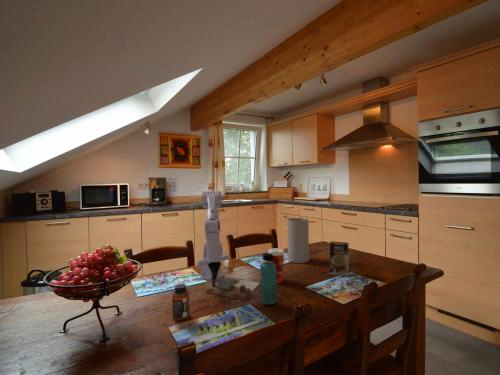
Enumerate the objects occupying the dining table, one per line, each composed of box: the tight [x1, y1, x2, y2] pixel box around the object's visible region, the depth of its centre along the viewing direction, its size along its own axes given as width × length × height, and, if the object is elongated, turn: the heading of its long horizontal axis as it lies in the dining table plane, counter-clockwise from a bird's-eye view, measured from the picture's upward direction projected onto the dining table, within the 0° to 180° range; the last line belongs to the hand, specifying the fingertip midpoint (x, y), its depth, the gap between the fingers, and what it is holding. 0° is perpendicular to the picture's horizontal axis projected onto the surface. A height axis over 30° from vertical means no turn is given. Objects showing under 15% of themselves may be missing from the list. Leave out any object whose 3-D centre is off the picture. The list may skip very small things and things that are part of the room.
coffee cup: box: [267, 247, 285, 284], centre depth 126 cm, size 8×8×15 cm
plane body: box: [206, 279, 251, 301], centre depth 113 cm, size 18×7×7 cm, turn 65°
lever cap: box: [217, 276, 236, 291], centre depth 113 cm, size 6×4×4 cm
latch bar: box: [207, 273, 213, 283], centre depth 113 cm, size 9×2×1 cm, turn 176°
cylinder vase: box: [286, 217, 310, 264], centre depth 157 cm, size 12×12×25 cm
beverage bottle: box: [259, 252, 278, 305], centre depth 102 cm, size 6×7×20 cm
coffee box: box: [329, 241, 350, 278], centre depth 133 cm, size 9×6×16 cm
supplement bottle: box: [171, 283, 191, 321], centre depth 94 cm, size 6×6×11 cm
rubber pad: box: [235, 279, 261, 292], centre depth 121 cm, size 10×9×1 cm
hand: (214, 279), depth 111 cm, fingers closed, pressing on latch bar
